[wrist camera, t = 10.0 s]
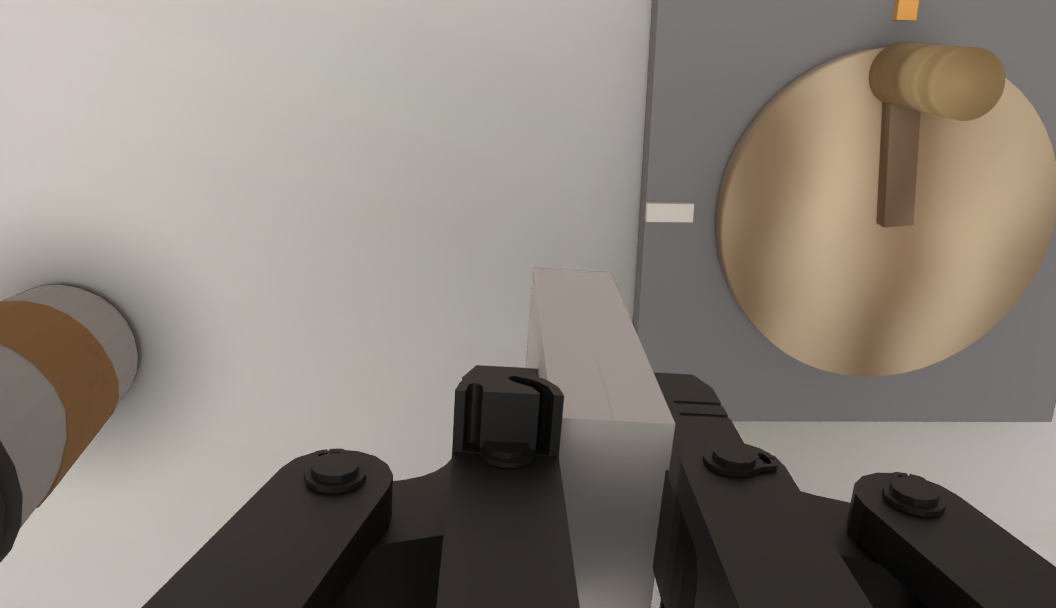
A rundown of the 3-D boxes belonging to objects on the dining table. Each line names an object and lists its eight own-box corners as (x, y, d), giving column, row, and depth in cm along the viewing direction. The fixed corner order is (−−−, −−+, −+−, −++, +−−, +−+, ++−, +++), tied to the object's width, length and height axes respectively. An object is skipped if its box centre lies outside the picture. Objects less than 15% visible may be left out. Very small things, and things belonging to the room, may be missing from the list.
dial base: (1033, 408, 43) (1056, 425, 41) (628, 407, 42) (634, 424, 40) (1128, -26, 37) (1160, -29, 35) (654, -36, 36) (662, -39, 34)
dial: (716, 375, 40) (759, 448, 33) (713, 55, 36) (762, 64, 29) (1020, 350, 40) (1123, 417, 33) (1055, 27, 36) (1182, 30, 29)
